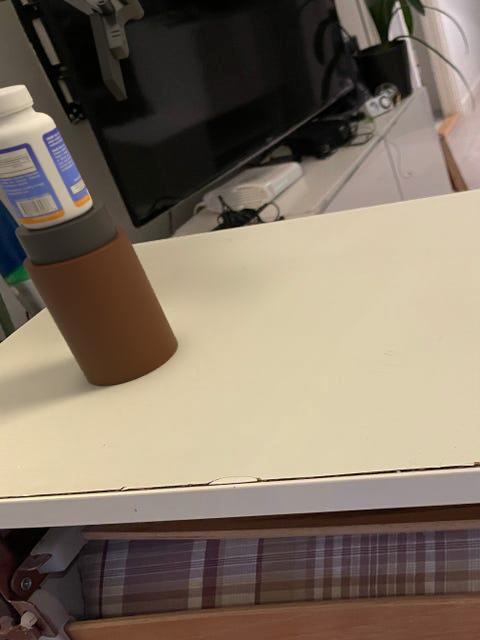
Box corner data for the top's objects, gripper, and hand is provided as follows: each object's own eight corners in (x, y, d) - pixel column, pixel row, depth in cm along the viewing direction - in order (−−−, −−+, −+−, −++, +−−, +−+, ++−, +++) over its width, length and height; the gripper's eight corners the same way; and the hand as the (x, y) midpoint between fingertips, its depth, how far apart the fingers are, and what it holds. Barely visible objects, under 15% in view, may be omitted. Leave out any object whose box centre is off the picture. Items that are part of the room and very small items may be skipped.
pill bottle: (74, 201, 64) (15, 82, 59) (107, 205, 61) (48, 79, 56) (11, 228, 61) (-57, 104, 56) (43, 234, 58) (-26, 103, 53)
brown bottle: (66, 385, 66) (-17, 242, 59) (126, 336, 72) (57, 201, 66) (140, 386, 63) (62, 235, 56) (195, 334, 70) (131, 193, 63)
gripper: (152, -94, 72) (200, 99, 67) (-125, -32, 69) (-97, 174, 64) (117, -168, 64) (168, 43, 59) (-193, -101, 62) (-168, 124, 57)
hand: (30, 111), depth 62 cm, fingers open, 13 cm apart
